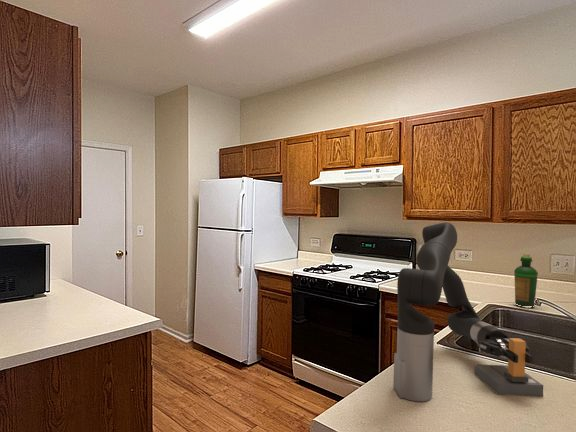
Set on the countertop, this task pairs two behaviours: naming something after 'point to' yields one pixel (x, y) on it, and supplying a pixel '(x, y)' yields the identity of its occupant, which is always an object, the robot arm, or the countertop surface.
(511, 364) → the handle
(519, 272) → the bottle
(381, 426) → the countertop surface
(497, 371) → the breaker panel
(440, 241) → the robot arm
